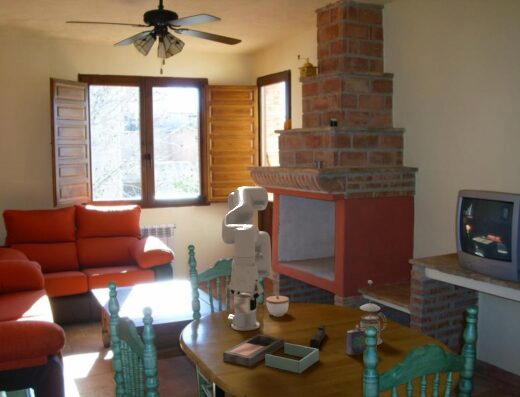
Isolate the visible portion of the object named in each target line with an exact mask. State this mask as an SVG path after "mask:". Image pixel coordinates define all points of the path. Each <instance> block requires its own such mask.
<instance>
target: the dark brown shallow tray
mask: <svg viewBox="0 0 520 397" xmlns="http://www.w3.org/2000/svg"><path fill="white" fill-rule="evenodd" d="M284 341H285V339H284V338H280V337H275V336H270V335H266V334H265V335H264V334H260V333H257V334H255V335H254V336H252V337H250V338H247V339H246V340H244V341H242V342H240V343H238V344H236V345H234V346H233V347H231V348H229V349H227V350H225V351H223V352H222V356H223V358H222V360H223V361H225V362H228V363H229V362H230V363H232V364H233V363H234V364H238V365H243V366H246V367H247V366H248V367H252V366H254V365H255V364H257V363H259V362H261V361H262V360H264V359H265V354H269V355H273V354H274V353H275V352H277V351H278V350H280V349H282V348H283V347H284V343H285V342H284Z"/></svg>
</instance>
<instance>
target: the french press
mask: <svg viewBox="0 0 520 397" xmlns="http://www.w3.org/2000/svg"><path fill="white" fill-rule="evenodd" d="M367 284H369V285H372V284H373V281H372V280H371V279H369V280H367ZM359 309H360V310H361V311H364V312H368V313H371V312H372V313H373V312H378V311H380V310H381V307H380V306H378V304H376V303H371V302H369V303H365V304H362V305H361V306H359ZM380 317H381V318H382V320H383V321H387V318H386V316H385V315H384V314H383V313H382V312H379V313H377V315H373V314H365V315H361V317H360V318H361V320H360V328H368V327H367V326H374V327H375V328H376V329H377V331H378V333H377V345H381V344H383V340H382V339H381V331H383V330H385V329H386V326H387V324H384V325H383V326H382V328H381V321H380V320H379V319H380ZM377 345H376V346H377Z"/></svg>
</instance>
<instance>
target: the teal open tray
mask: <svg viewBox="0 0 520 397" xmlns="http://www.w3.org/2000/svg"><path fill="white" fill-rule="evenodd" d="M283 347H284V348H283V349H284V352H283V353H284V354H287V355H290V356H295V357H300V358H301V359H300V360H295V359H292V358H287V357H282V356H277V355H273V354H270V355H269V354H265V358H264V359H265V360H264V364H265V366H267V367H271V368H276V369H279V370H284V371H288V372H293V373H298V374H301V373H303V372H304V371H305V370H307V369H308V368H310V367H311V366H313V365H314V364H315V363H316V362H318V361H319V360H320V350H319V348H311V347H310V346H304V345H300V344H296V343H295V344H294V343H289V342H284V346H283Z"/></svg>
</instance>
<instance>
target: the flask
mask: <svg viewBox="0 0 520 397" xmlns="http://www.w3.org/2000/svg"><path fill="white" fill-rule="evenodd" d="M365 328H366V327H365ZM365 328H361V327H359V324H356V325H355V328H354V329H351V330H347V331H346V354H347V355H348V356H354V355H361V353H362V354H364V353H363V352H364V350H365V335H364V330H365Z"/></svg>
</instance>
